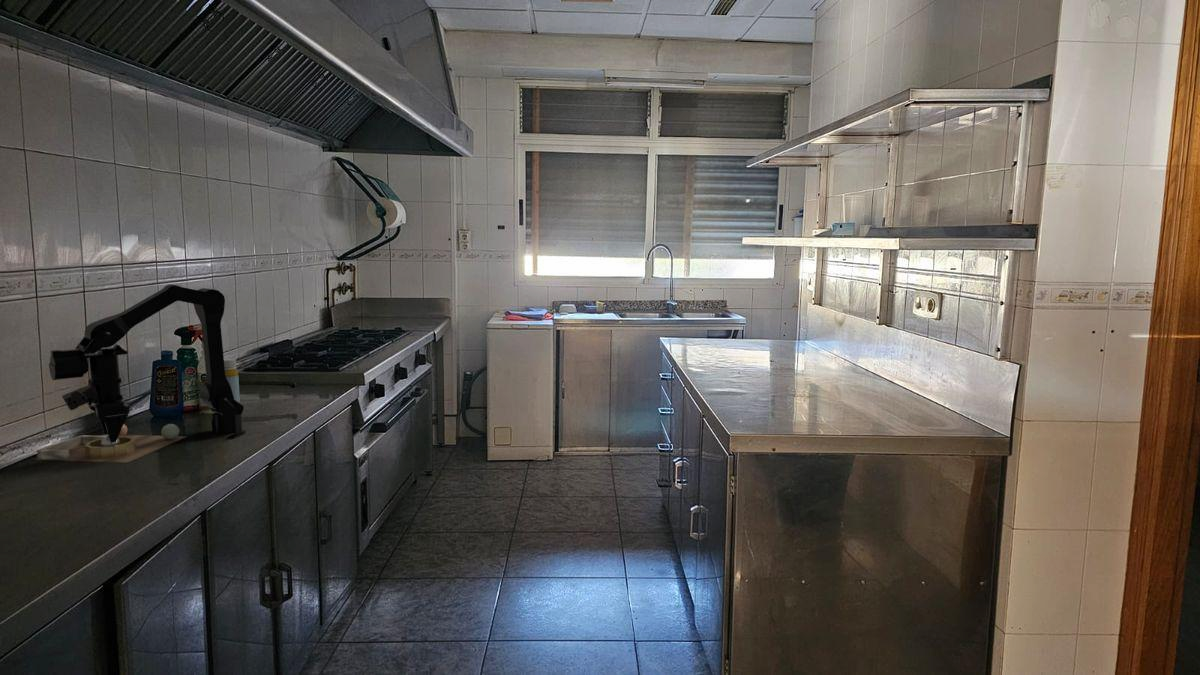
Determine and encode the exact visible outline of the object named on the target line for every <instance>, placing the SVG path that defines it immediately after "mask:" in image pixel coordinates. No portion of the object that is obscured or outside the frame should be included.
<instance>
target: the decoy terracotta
mask: <svg viewBox="0 0 1200 675" xmlns="http://www.w3.org/2000/svg"><path fill="white" fill-rule="evenodd" d="M127 433H128V426H127V425H126V424H125V423H124V424H123V427H122V429H121V431H120V434H119V436H125V435H128V434H127Z"/></svg>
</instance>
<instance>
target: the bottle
mask: <svg viewBox="0 0 1200 675" xmlns="http://www.w3.org/2000/svg"><path fill="white" fill-rule="evenodd" d="M224 366H225V375H226V378H227V380H228V382H229V384H230V386H231V389H232V392H233V396H234V400H236V401H237V402H238V403H240V404H241V402H240V401H241V399H240V383H239V381H240V380H239V371H238V370H237V359H236V358H235V357H224Z"/></svg>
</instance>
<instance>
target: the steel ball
mask: <svg viewBox="0 0 1200 675" xmlns="http://www.w3.org/2000/svg"><path fill="white" fill-rule="evenodd" d="M115 445H120V440H119V438H118V439H117V441H116V442H111V441H110V438H109V436H107V437H105V438H104V439H103V440H102V441H101V447H106V446H115Z"/></svg>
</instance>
